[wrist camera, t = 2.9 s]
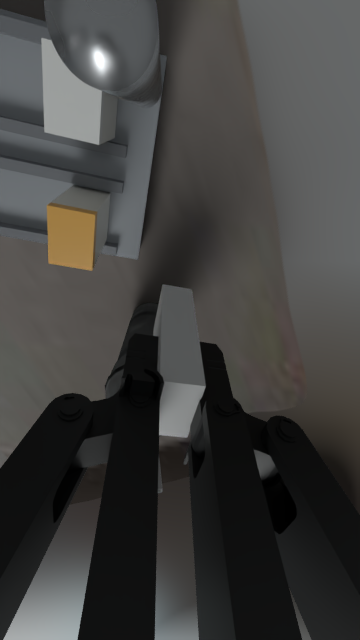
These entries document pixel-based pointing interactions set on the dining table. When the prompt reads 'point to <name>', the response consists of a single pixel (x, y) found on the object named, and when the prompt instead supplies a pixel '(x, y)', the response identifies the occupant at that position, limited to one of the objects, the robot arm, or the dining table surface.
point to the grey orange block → (77, 227)
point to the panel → (65, 149)
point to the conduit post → (110, 45)
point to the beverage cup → (138, 324)
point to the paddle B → (74, 103)
